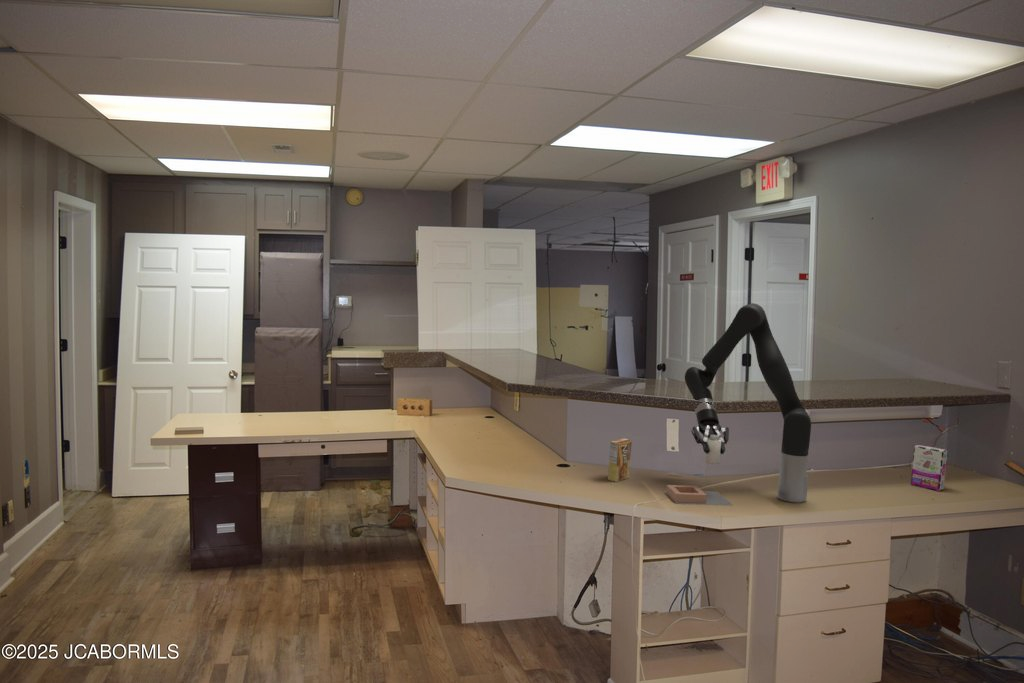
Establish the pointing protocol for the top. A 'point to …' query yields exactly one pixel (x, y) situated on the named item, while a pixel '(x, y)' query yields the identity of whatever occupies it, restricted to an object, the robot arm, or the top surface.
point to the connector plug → (713, 450)
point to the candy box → (619, 459)
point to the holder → (694, 495)
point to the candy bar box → (929, 467)
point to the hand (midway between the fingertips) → (715, 452)
